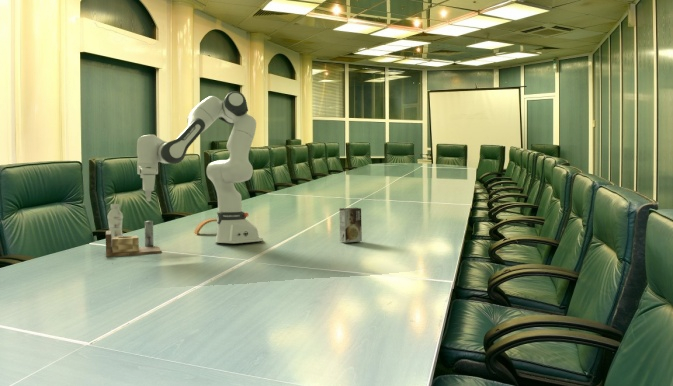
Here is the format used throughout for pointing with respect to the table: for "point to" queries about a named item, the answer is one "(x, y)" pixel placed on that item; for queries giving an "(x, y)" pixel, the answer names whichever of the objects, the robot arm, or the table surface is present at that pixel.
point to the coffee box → (350, 225)
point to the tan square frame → (125, 244)
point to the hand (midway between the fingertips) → (148, 201)
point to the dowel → (149, 234)
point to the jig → (141, 251)
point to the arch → (203, 225)
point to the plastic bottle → (115, 220)
